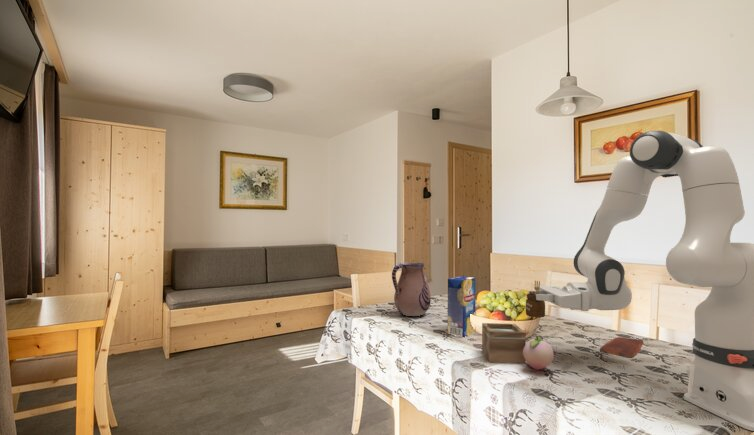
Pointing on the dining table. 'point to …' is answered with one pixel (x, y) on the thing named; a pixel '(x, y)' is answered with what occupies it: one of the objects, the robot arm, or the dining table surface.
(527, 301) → the utensil holder
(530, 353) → the decorative fruit
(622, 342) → the wooden tablet
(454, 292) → the beverage box
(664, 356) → the dining table surface
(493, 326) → the walnut box
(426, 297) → the ceramic pitcher
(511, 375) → the dining table surface
